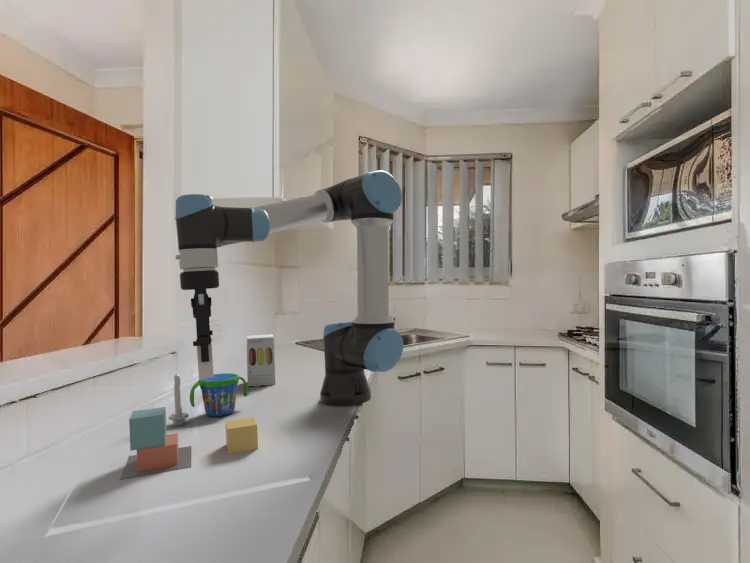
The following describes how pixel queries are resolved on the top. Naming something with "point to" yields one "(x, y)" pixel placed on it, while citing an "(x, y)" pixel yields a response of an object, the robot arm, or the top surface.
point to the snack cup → (219, 393)
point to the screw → (178, 404)
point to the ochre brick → (241, 435)
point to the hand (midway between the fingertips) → (205, 371)
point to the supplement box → (260, 360)
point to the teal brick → (147, 428)
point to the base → (133, 465)
